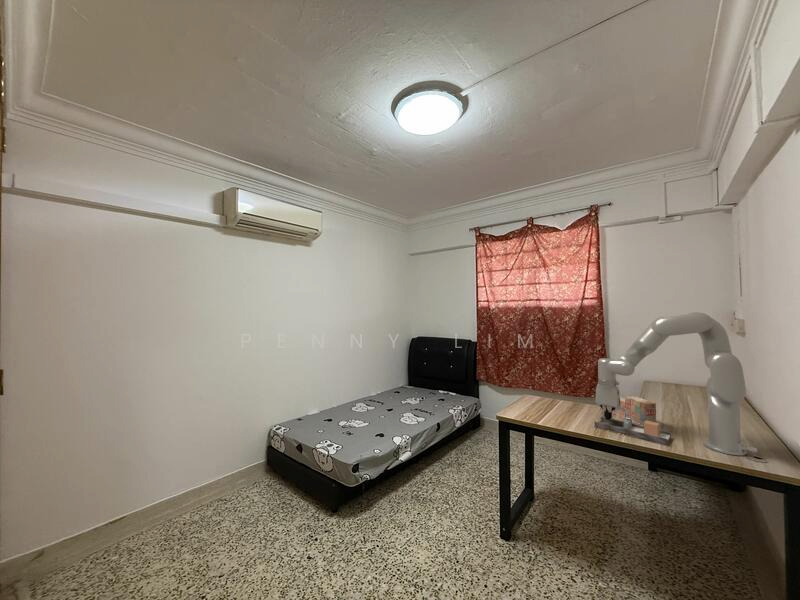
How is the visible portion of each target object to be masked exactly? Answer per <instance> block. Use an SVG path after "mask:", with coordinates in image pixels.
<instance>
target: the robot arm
mask: <svg viewBox="0 0 800 600" xmlns="http://www.w3.org/2000/svg"><path fill="white" fill-rule="evenodd" d="M690 334H698V336H699V337H700V339H701V343H702V349H703V355H704V357H703V358H704V364H705V366H706V367H707V368H708V369H709V372H710V377H709V378H708V379H707V381H706V395H707V408H708V409H707V416H708V417H707V418H708V419H707V421H708V424H707V425H708V439H706V440H704V441H703V445H704V446H705V447H706V448H708V449H710V450H712V451H715V452H718V453H721V454H727V455H733V456H745V455H746V456H747V452H751V453H755V454H758V448H757V447H753V445H750V444H749V445H747V444H745V443H743V441H742V440H741V406H740V402H741V401H743V400H744V399H745V397H746V395H747V388H746V387H747V386H746V381H745V375H744V370H743V365H742V363H741V360H740V359H739V358H738V357H737V356H736V355H734V354H733V352H732V347H731V343H730V339H729V335H728V332H727V330H726V329H725V328H724V326H723V325H722V324H721V323H720V322H719V321H717V320H716V319H715V318H712V317H711V316H710V315H708V314H706V313H704V312H697V311H695V312H689V313H688V314H680V315H674V316H666V317H665V316H659V317H656V318H655V319H654V320H653V321H652V322H651V323H650V324H649V326H648V327H646V328H645V330H644V331H643V332H642V333H641V334H640V335H639V336H638V337H637V338H636V340H635V341H634V342H633V343H632V344H631V346H629V347H628V348H627V350H626V351H625V352H624V353H623V354H622V355H621V356H620V357H619V359H618V360H615V359H612V358H606V357H602V358H599V359H598V360H597V376H598V377H597V378H598V380H597V382H598V383H597V384H596V388H595V406H597V407H600V408H601V409H602V411H603V414H604V415H603V417H605V419H606V420H607V419H608V420H610V419H613V414H612V411H614V410H620V409H621V408H620V404H621V401H620V397H621V394H620V389H619V386H620V382H619V381H617V376H616V375H618V376H624V377H629V376H631V375H633V374H634V373H635V369H636V367H637V366H638V364H640V362H641V361H642V360H643V359H644V358H646V357H647V356H649V355H651V354H653V353H654V352H655V351H656V350H657V349H658V348H659V347H660V346H661V345H662V344H663V343H665V340H667V339H668V338H669V337H670V336H671V337H673V336H681V335H690Z"/></svg>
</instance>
